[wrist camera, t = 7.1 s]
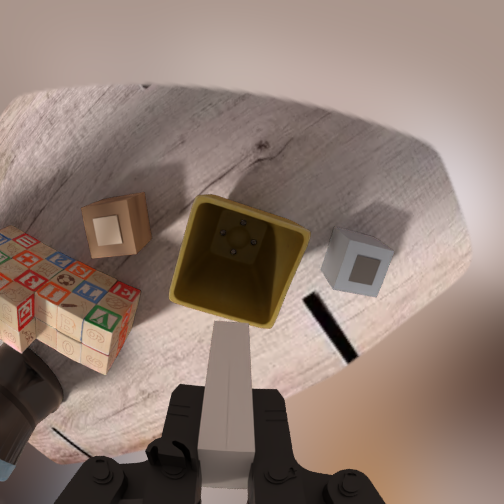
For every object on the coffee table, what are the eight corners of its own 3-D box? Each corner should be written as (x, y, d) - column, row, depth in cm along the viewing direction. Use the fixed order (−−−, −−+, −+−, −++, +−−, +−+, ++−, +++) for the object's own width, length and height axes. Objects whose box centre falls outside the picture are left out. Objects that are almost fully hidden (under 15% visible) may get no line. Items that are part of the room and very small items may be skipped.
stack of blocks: (143, 288, 32) (101, 354, 20) (132, 329, 34) (96, 397, 22) (10, 224, 28) (-53, 254, 17) (8, 264, 30) (-47, 302, 19)
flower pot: (210, 180, 28) (195, 192, 20) (293, 208, 29) (313, 232, 21) (186, 260, 31) (166, 301, 22) (264, 284, 32) (271, 331, 23)
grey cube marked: (320, 269, 32) (333, 290, 27) (334, 226, 30) (350, 240, 25) (359, 277, 32) (377, 298, 27) (374, 236, 30) (394, 251, 26)
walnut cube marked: (111, 243, 30) (91, 259, 25) (103, 198, 28) (80, 208, 23) (152, 238, 30) (136, 254, 25) (144, 191, 28) (126, 200, 23)
